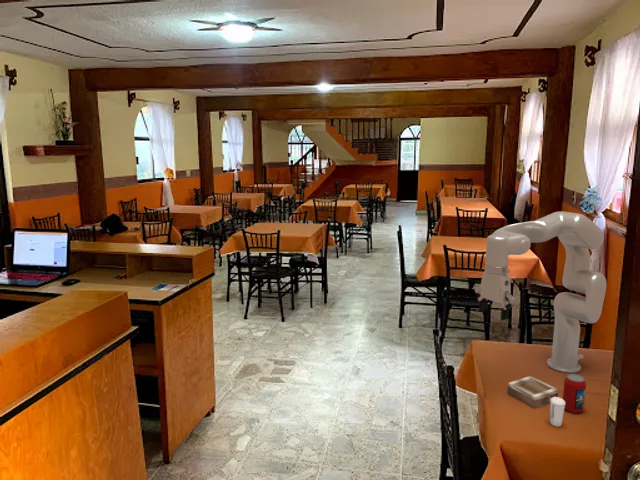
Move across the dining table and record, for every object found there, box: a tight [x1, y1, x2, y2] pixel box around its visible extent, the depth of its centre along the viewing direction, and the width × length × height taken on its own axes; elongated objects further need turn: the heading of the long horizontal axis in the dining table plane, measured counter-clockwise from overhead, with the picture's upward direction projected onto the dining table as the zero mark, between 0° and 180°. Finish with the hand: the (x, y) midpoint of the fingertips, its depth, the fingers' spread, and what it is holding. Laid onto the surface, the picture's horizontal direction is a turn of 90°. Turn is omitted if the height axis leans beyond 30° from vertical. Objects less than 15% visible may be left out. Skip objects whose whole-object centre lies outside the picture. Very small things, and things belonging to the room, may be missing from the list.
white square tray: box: [507, 375, 559, 409], centre depth 179 cm, size 12×12×4 cm
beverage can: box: [562, 373, 587, 414], centre depth 170 cm, size 7×7×12 cm
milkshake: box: [549, 396, 566, 427], centre depth 161 cm, size 4×5×10 cm
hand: (493, 315), depth 176 cm, fingers open, 9 cm apart
